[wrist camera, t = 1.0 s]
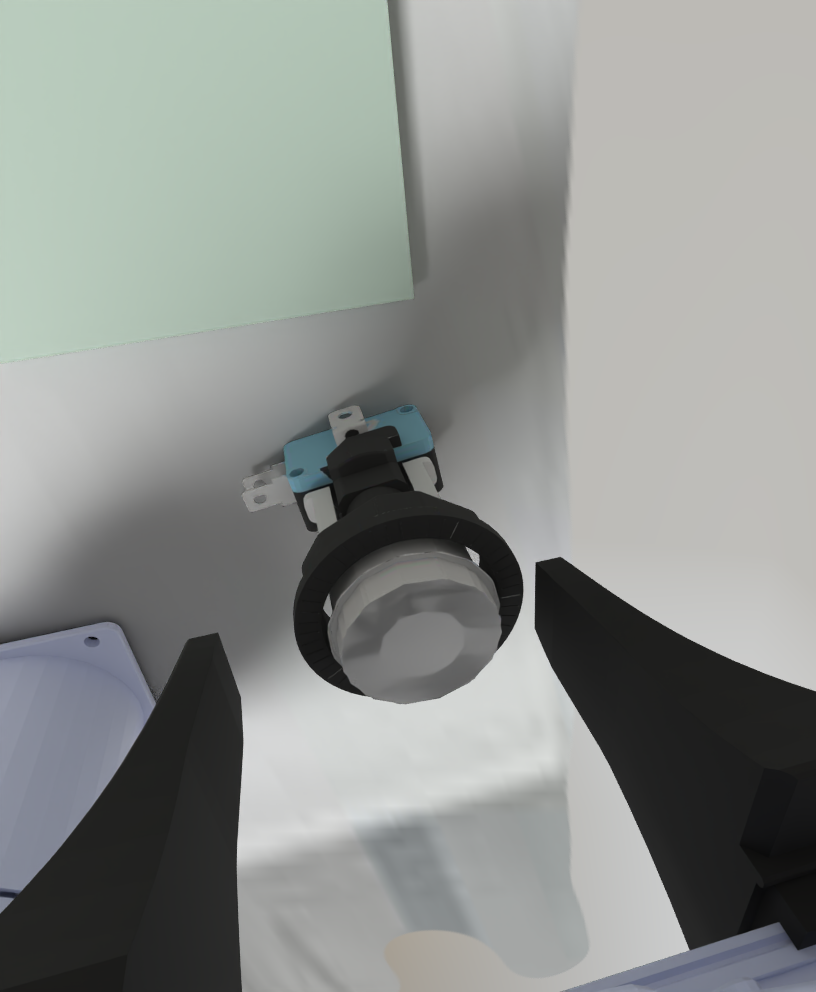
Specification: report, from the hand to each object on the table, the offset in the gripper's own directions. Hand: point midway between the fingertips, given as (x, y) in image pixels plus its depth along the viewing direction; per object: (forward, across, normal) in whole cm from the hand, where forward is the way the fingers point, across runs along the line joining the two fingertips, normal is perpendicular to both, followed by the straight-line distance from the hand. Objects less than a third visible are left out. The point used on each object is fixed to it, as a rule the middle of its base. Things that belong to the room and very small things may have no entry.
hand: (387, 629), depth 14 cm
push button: (+9, 0, 0) cm, 9 cm away
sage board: (+9, +3, -11) cm, 15 cm away
